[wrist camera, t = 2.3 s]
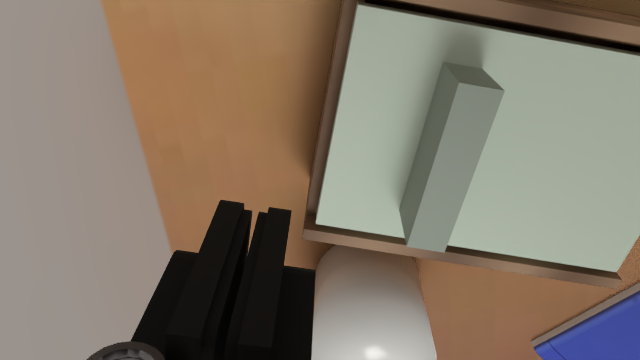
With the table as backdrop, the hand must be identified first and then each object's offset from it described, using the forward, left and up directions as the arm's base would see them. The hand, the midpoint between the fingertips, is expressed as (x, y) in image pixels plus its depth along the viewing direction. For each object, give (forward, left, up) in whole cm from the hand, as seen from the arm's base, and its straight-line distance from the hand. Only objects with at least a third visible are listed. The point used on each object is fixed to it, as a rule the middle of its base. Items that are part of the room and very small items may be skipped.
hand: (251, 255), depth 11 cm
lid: (-9, 0, -11) cm, 14 cm away
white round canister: (-6, +13, -16) cm, 22 cm away
